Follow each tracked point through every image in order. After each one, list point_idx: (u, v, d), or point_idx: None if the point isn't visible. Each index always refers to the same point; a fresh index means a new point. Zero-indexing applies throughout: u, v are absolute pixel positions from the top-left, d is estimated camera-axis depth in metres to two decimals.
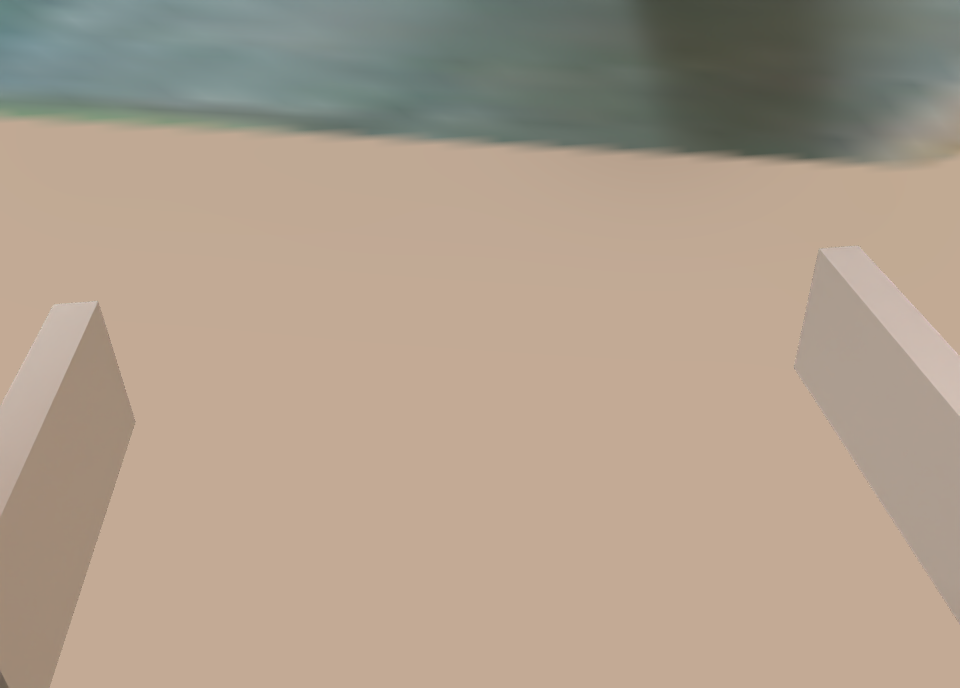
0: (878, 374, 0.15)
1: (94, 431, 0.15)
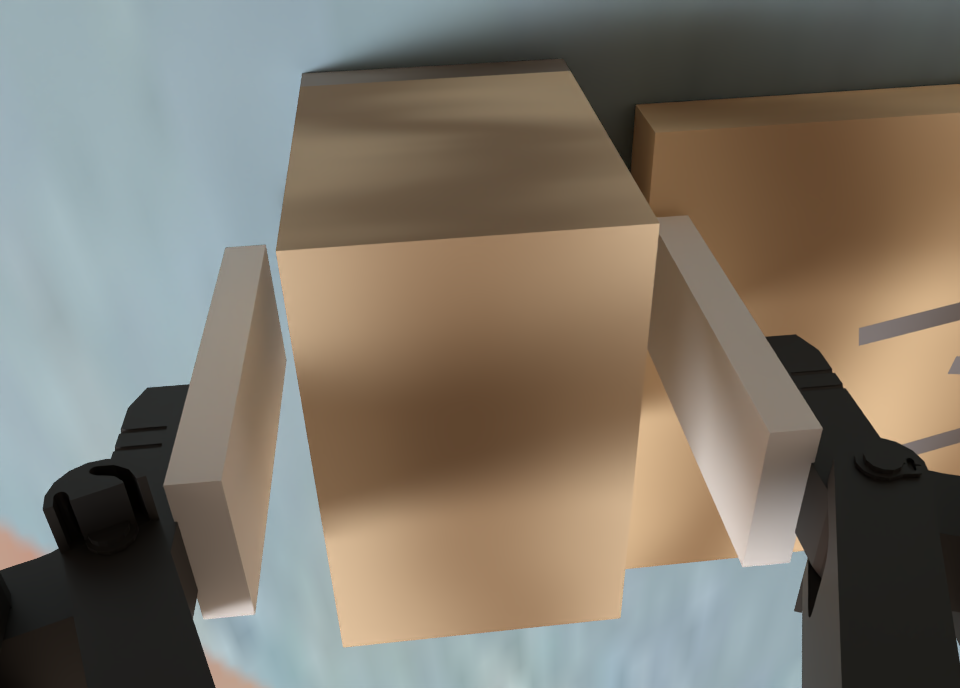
0: (686, 331, 0.16)
1: (269, 360, 0.17)
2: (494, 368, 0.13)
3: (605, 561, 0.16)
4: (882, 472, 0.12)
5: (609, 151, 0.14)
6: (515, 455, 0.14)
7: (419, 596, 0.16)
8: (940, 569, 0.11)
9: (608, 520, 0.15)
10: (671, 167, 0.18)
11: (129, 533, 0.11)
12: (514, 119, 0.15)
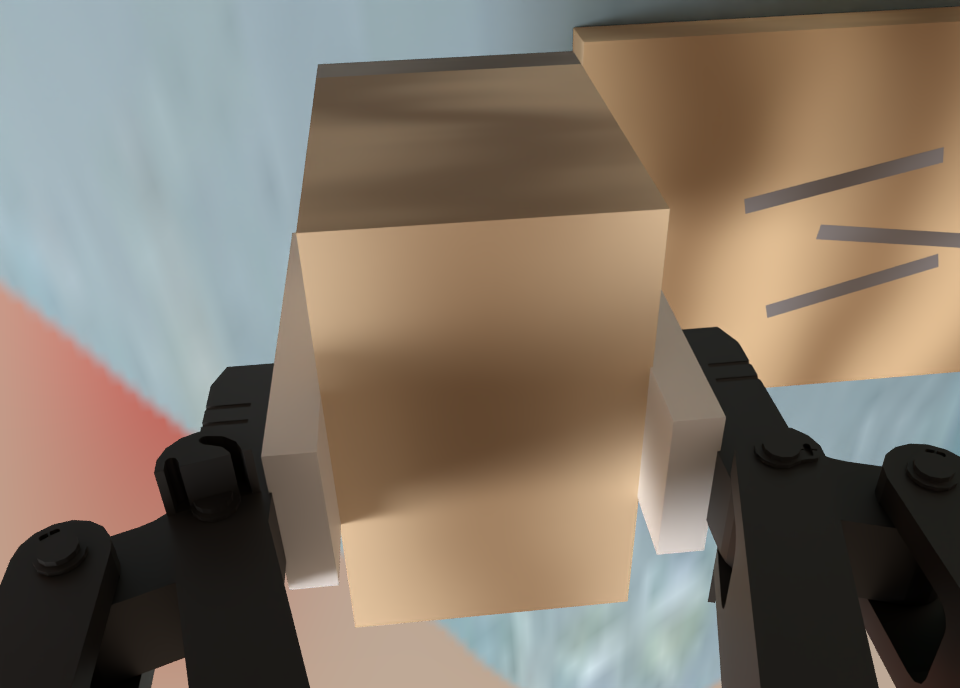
0: None
1: None
2: (507, 350, 0.13)
3: (613, 544, 0.16)
4: (781, 460, 0.12)
5: (620, 140, 0.14)
6: (526, 437, 0.14)
7: (430, 577, 0.16)
8: (842, 551, 0.11)
9: (617, 502, 0.15)
10: (596, 68, 0.25)
11: (231, 503, 0.12)
12: (527, 109, 0.16)
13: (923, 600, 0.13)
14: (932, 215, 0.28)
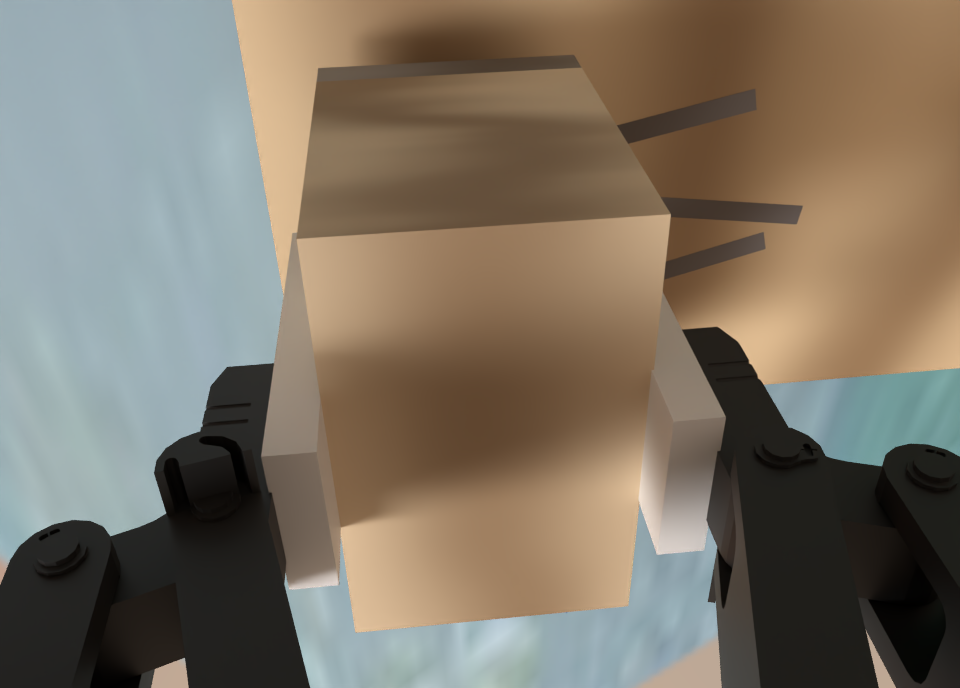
0: None
1: None
2: (508, 356, 0.13)
3: (614, 549, 0.16)
4: (781, 460, 0.12)
5: (621, 145, 0.14)
6: (527, 442, 0.14)
7: (431, 582, 0.16)
8: (843, 551, 0.11)
9: (618, 507, 0.15)
10: None
11: (232, 503, 0.12)
12: (528, 113, 0.16)
13: (923, 600, 0.13)
14: (750, 181, 0.21)
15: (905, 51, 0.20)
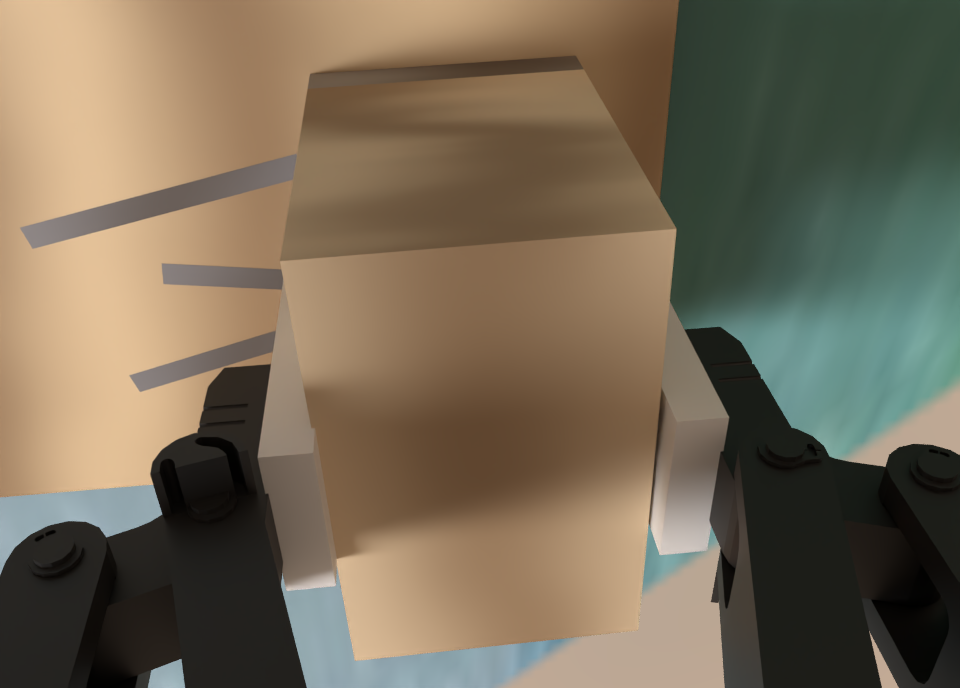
0: None
1: None
2: (507, 378, 0.13)
3: (622, 573, 0.15)
4: (785, 460, 0.12)
5: (624, 153, 0.14)
6: (528, 466, 0.14)
7: (432, 609, 0.15)
8: (846, 551, 0.11)
9: (626, 531, 0.15)
10: None
11: (228, 504, 0.12)
12: (527, 120, 0.15)
13: (926, 600, 0.13)
14: None
15: None
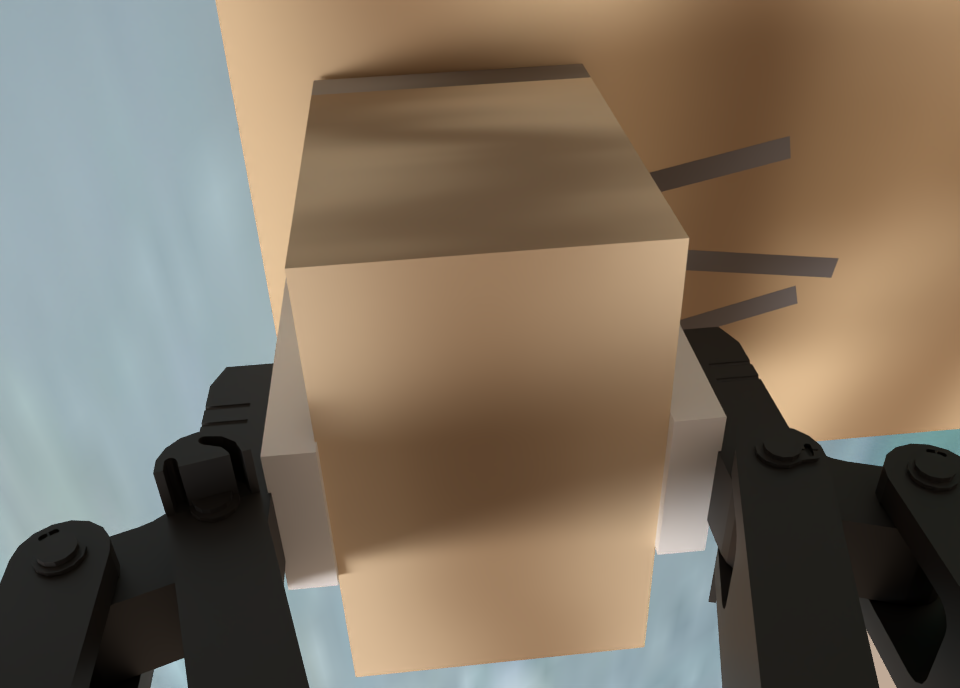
0: None
1: None
2: (514, 390, 0.13)
3: (629, 589, 0.15)
4: (782, 460, 0.12)
5: (633, 161, 0.13)
6: (535, 480, 0.14)
7: (434, 625, 0.15)
8: (843, 551, 0.11)
9: (633, 545, 0.15)
10: (240, 16, 0.16)
11: (231, 503, 0.12)
12: (534, 128, 0.15)
13: (924, 600, 0.13)
14: (782, 233, 0.20)
15: (952, 96, 0.18)
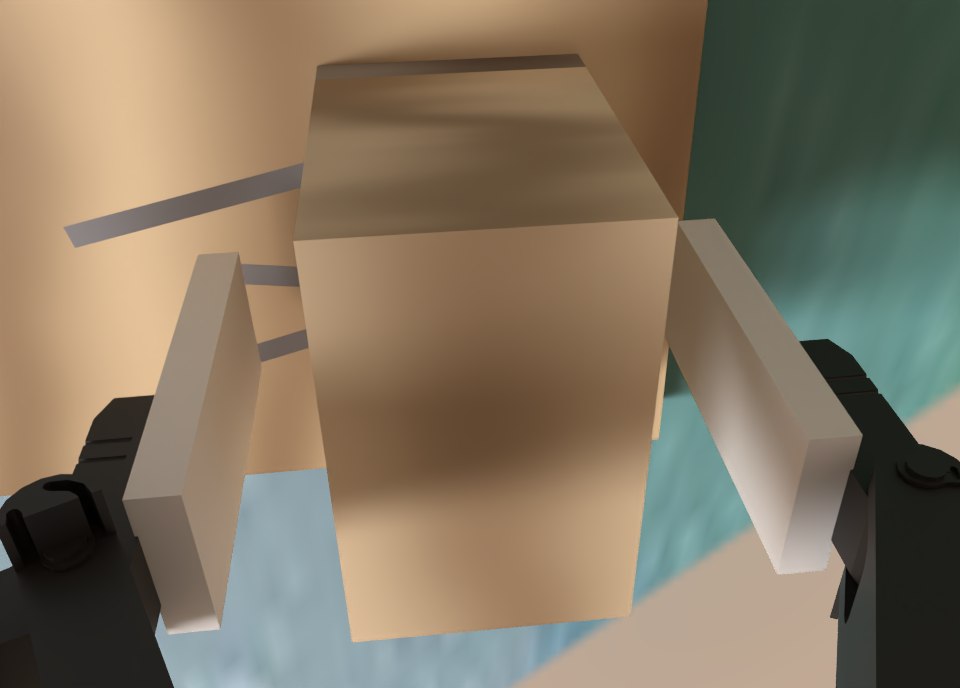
0: (716, 335, 0.16)
1: (241, 369, 0.17)
2: (510, 362, 0.13)
3: (616, 558, 0.16)
4: (924, 479, 0.12)
5: (626, 146, 0.14)
6: (528, 450, 0.14)
7: (429, 591, 0.16)
8: None
9: (621, 516, 0.15)
10: None
11: (86, 548, 0.11)
12: (531, 114, 0.15)
13: None
14: None
15: None
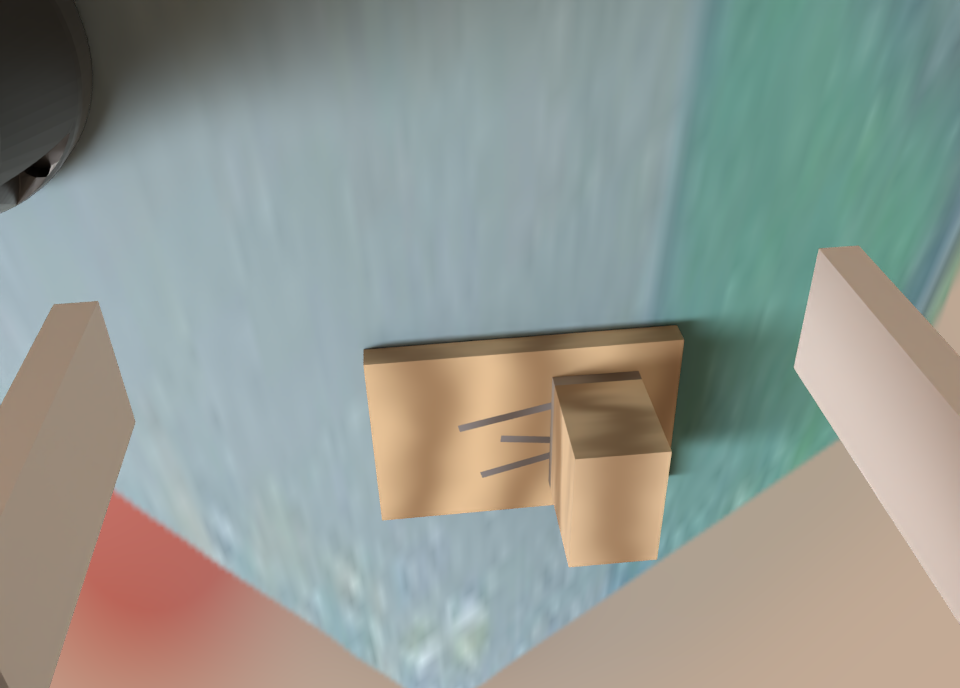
0: (878, 374, 0.15)
1: (94, 431, 0.15)
2: (626, 485, 0.48)
3: (653, 540, 0.51)
4: None
5: (657, 421, 0.49)
6: (629, 508, 0.49)
7: (595, 550, 0.51)
8: None
9: (654, 527, 0.50)
10: (371, 375, 0.51)
11: None
12: (627, 405, 0.50)
13: None
14: None
15: None
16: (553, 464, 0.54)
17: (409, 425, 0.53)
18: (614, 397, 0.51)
